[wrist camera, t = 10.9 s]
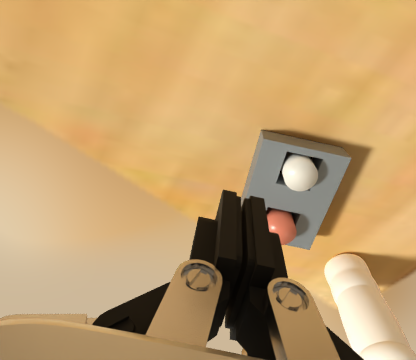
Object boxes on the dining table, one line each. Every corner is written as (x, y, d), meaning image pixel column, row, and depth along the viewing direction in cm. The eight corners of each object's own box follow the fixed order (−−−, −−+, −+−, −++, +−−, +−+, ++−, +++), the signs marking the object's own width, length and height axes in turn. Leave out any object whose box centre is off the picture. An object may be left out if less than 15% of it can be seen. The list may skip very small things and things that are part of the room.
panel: (342, 147, 43) (351, 158, 40) (304, 234, 51) (309, 249, 47) (261, 129, 43) (263, 138, 40) (235, 219, 50) (234, 233, 47)
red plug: (295, 207, 46) (300, 223, 42) (286, 229, 48) (290, 247, 44) (267, 201, 46) (270, 217, 42) (259, 223, 48) (261, 241, 44)
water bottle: (319, 256, 52) (381, 423, 30) (362, 247, 51) (460, 417, 29) (327, 285, 55) (388, 457, 33) (367, 277, 54) (460, 453, 31)
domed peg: (315, 152, 43) (323, 165, 39) (304, 179, 45) (311, 194, 41) (285, 146, 43) (290, 158, 39) (276, 173, 45) (279, 187, 41)
